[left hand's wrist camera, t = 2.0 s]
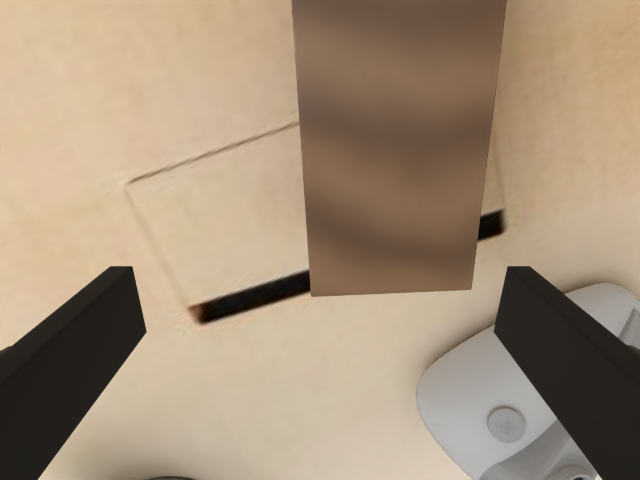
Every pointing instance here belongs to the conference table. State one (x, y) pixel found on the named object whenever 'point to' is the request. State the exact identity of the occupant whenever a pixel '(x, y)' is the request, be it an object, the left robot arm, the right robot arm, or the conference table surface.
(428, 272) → the cabinet
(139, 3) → the conference table surface
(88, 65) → the conference table surface
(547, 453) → the projector
